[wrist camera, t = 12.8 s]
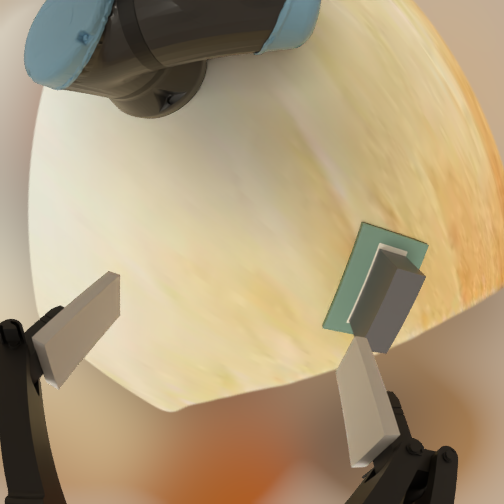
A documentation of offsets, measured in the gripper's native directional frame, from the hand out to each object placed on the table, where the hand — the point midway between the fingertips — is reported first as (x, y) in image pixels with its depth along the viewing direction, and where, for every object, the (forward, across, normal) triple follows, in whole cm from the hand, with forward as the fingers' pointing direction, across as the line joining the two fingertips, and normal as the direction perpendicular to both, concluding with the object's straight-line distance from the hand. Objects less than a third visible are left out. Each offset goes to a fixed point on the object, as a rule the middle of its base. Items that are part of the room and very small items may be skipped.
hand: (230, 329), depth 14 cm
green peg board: (+27, +20, -6) cm, 34 cm away
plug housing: (+26, +20, -6) cm, 33 cm away
